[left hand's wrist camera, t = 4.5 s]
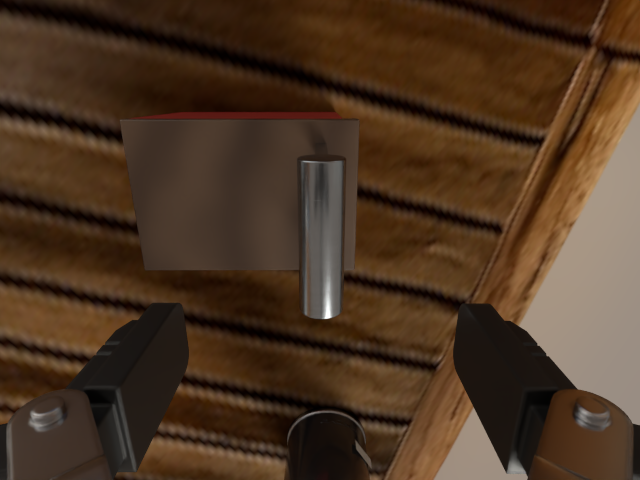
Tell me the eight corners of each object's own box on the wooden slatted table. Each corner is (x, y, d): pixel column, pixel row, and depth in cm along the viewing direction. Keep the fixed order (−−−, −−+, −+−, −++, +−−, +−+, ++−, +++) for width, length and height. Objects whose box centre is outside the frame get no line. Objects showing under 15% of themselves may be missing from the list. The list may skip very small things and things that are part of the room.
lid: (357, 118, 25) (379, 131, 16) (353, 264, 28) (368, 341, 19) (127, 118, 25) (19, 131, 16) (150, 264, 28) (73, 341, 19)
